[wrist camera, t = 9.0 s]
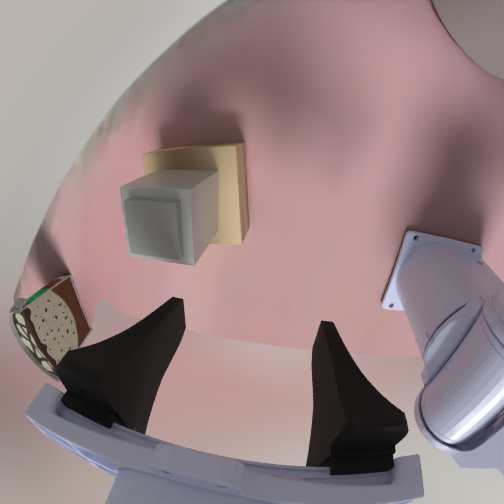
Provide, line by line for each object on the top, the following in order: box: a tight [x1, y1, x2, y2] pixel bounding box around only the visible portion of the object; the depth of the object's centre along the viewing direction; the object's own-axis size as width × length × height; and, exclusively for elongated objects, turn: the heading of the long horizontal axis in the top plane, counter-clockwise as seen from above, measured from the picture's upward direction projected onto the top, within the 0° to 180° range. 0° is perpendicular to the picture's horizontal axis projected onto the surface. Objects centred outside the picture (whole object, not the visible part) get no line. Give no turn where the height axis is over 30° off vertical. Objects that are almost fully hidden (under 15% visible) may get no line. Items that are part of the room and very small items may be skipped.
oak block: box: [142, 142, 249, 244], centre depth 21 cm, size 7×7×4 cm
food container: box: [8, 273, 92, 382], centre depth 28 cm, size 12×6×10 cm, turn 0°
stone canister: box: [120, 169, 218, 266], centre depth 17 cm, size 4×4×6 cm
